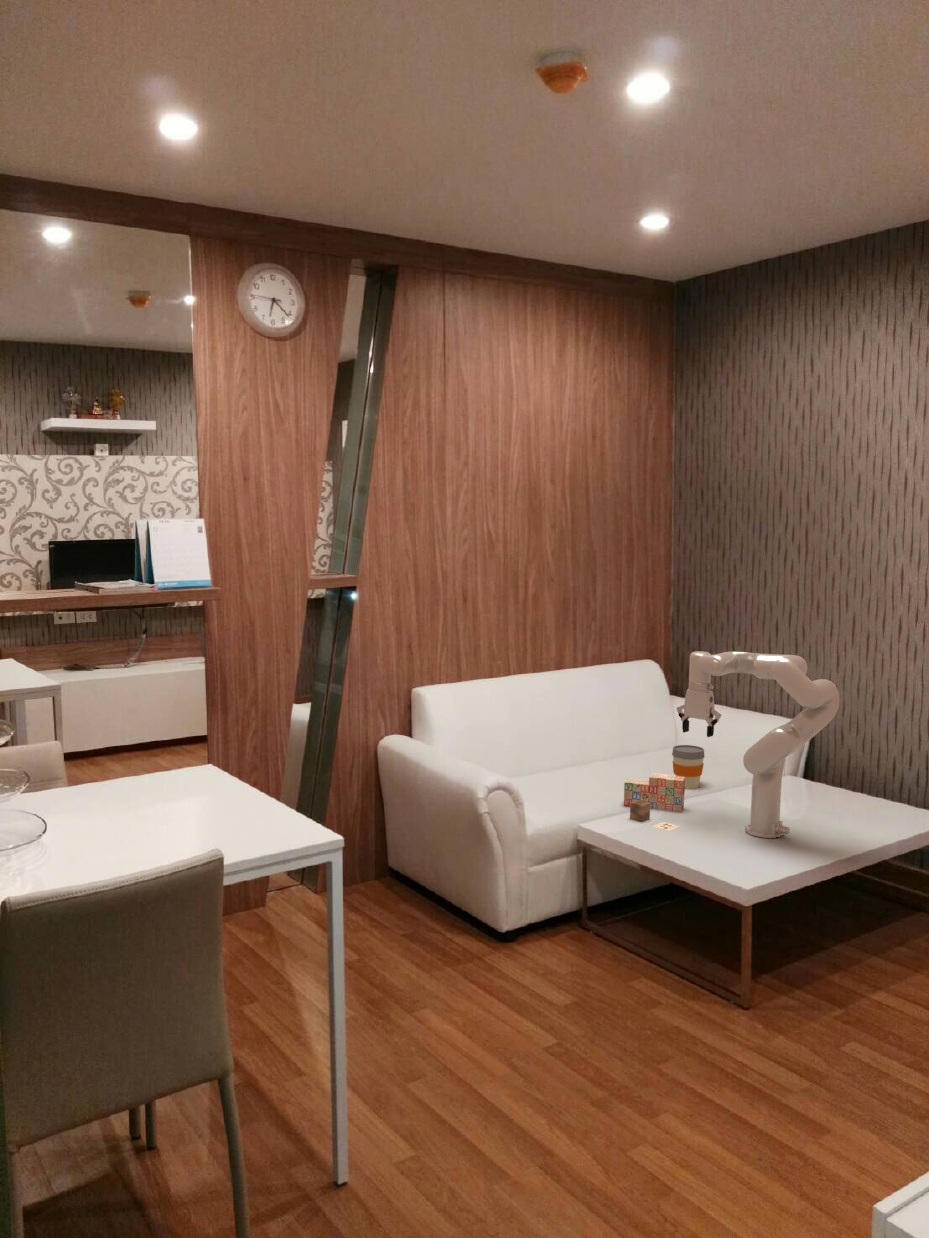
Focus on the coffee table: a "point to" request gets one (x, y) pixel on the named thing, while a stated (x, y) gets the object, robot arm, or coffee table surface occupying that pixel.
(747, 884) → the coffee table surface
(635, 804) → the walnut block
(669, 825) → the mat
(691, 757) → the reusable coffee cup
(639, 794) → the stack of blocks
